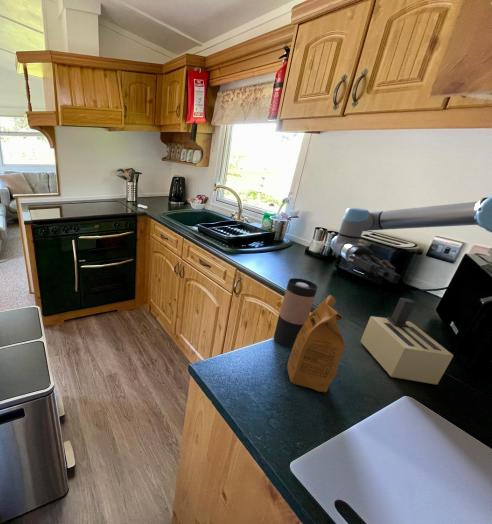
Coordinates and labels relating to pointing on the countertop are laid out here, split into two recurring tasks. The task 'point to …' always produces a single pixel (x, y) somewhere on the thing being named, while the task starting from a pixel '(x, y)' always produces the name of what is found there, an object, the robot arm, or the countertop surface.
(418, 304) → the countertop surface
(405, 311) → the slide button
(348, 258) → the robot arm
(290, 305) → the travel mug
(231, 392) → the countertop surface
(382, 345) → the toaster
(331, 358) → the coffee package
